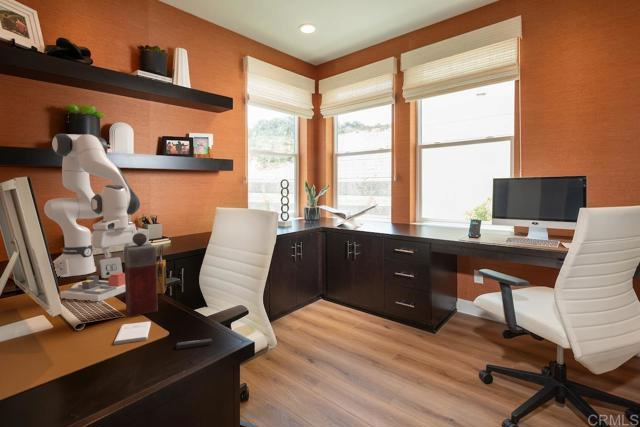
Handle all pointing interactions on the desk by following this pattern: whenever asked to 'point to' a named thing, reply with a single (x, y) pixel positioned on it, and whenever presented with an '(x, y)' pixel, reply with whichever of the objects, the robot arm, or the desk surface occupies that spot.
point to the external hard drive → (133, 332)
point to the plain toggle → (95, 278)
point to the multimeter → (161, 274)
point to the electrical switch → (110, 266)
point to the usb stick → (193, 343)
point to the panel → (93, 292)
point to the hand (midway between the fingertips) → (117, 255)
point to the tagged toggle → (88, 284)
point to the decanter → (140, 276)
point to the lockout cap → (116, 279)
